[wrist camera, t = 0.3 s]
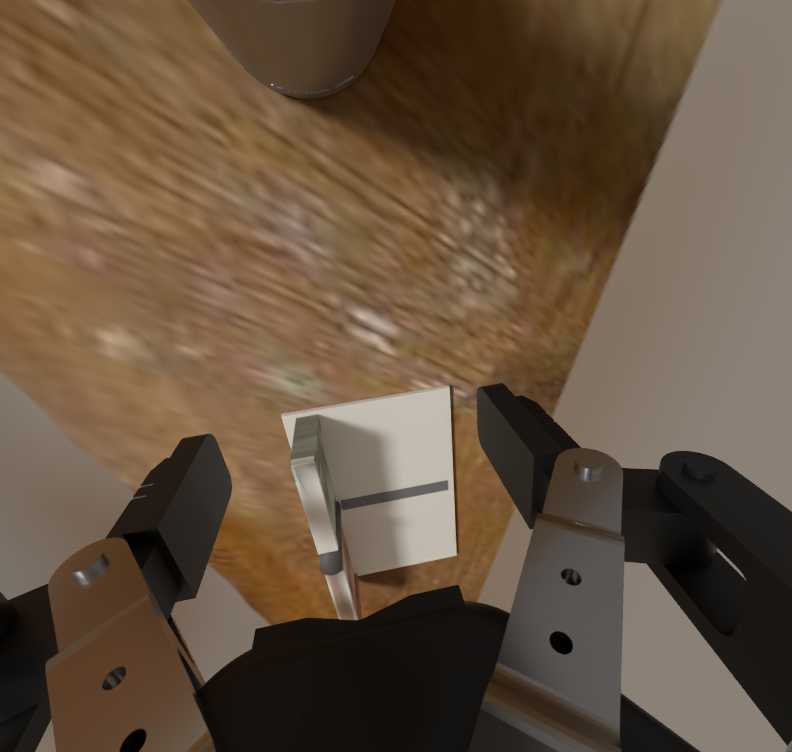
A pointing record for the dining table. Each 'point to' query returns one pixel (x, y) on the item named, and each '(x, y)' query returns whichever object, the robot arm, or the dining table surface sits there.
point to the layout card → (390, 476)
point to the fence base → (317, 492)
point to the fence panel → (345, 588)
